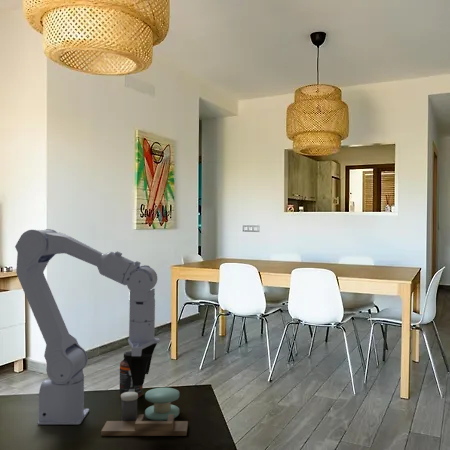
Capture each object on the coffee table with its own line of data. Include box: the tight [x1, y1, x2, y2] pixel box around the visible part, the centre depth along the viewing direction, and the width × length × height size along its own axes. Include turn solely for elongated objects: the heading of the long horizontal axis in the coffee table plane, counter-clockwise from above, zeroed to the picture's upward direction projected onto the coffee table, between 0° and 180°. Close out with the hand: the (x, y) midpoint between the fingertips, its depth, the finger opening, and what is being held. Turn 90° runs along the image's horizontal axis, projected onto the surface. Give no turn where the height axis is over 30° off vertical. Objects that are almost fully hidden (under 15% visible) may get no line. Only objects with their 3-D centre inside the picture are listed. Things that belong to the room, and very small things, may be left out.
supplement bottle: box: [119, 350, 144, 398], centre depth 122 cm, size 6×6×11 cm
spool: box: [144, 387, 180, 421], centre depth 111 cm, size 8×8×5 cm
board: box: [100, 413, 189, 437], centre depth 102 cm, size 18×5×2 cm, turn 91°
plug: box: [120, 392, 139, 421], centre depth 107 cm, size 4×4×6 cm
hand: (141, 379), depth 107 cm, fingers open, 7 cm apart
